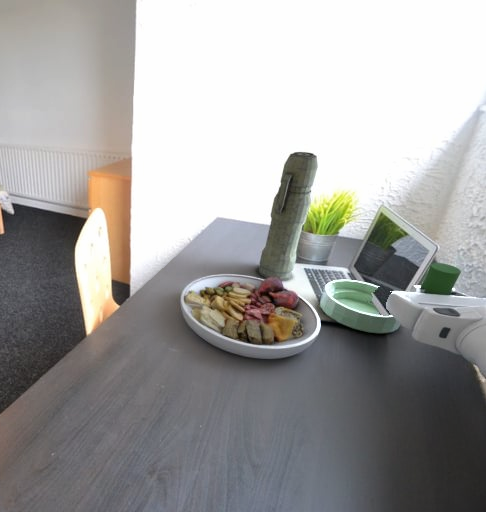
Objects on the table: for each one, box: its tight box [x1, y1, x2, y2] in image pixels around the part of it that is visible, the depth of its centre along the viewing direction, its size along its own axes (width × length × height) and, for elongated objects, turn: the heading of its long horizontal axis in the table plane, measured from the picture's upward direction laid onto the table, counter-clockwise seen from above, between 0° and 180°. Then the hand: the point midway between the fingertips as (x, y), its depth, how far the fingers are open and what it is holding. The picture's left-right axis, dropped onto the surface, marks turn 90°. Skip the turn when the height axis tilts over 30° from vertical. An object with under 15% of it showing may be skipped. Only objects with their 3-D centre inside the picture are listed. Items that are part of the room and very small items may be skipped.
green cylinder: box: [420, 262, 462, 295], centre depth 73 cm, size 4×4×12 cm
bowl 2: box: [319, 279, 401, 334], centre depth 89 cm, size 16×16×5 cm
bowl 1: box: [180, 273, 321, 360], centre depth 87 cm, size 30×30×8 cm
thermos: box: [258, 151, 319, 282], centre depth 101 cm, size 9×12×35 cm
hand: (430, 289), depth 74 cm, fingers closed on green cylinder, 4 cm apart
